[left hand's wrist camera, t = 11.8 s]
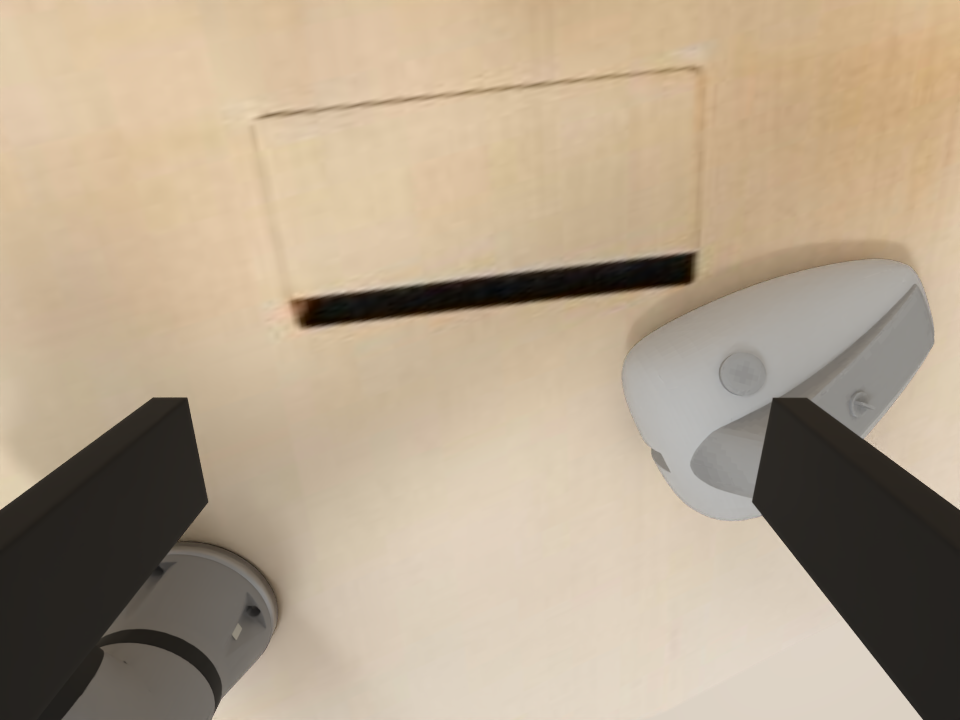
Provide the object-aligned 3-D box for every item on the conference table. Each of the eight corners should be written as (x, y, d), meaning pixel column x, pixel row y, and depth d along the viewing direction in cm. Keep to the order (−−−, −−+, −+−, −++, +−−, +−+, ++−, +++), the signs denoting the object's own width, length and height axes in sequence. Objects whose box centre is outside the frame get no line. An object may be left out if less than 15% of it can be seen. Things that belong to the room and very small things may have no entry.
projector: (817, 504, 51) (943, 634, 37) (577, 457, 49) (615, 575, 35) (937, 270, 43) (1151, 323, 29) (658, 204, 41) (747, 228, 28)
